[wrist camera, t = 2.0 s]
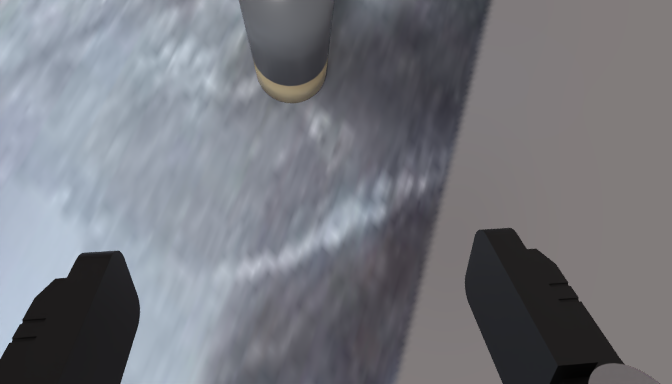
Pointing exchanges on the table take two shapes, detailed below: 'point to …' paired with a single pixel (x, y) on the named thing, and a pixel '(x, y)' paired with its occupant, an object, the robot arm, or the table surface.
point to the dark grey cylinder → (289, 45)
